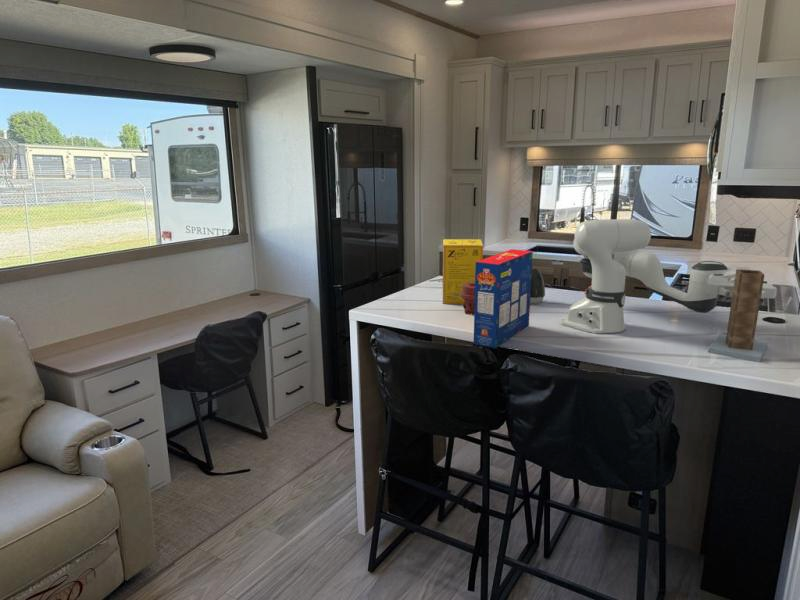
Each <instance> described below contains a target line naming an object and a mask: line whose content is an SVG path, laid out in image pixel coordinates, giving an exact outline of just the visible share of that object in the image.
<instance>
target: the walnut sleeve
mask: <svg viewBox="0 0 800 600" xmlns="http://www.w3.org/2000/svg"><path fill="white" fill-rule="evenodd" d="M764 280H765V274H764V273H763V272H762V271H761V270H755V269H754V270H753V269H741V270H740V268H739V269H736V275H735V282H734V288H733V295H732V298H731V301H730V302H731V303H730V308H729V309H730V310H729V316H728V321H727V322H728V323H727V328H726V329H727V330H726V335H725V336H726V343H727V345H728V347H729V348H737V349H747V350H752V348H753V342H754V341H755V334H756V330H757V329H756V328H757V322H758V318H759V317H758V316H759V313H760V312H759V310H760V304H761V294H762V287H763V283H764Z"/></svg>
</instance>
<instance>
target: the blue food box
mask: <svg viewBox="0 0 800 600" xmlns="http://www.w3.org/2000/svg"><path fill="white" fill-rule="evenodd" d="M533 253H534V252H533V250H526V249H525V250H523V249H515V248H514V249H512V248H511V249H509V250H505V251H503V252H499V253H497V254H494V255H491V256H488V257H486V258H483V259H482V260H480V261H477V262H476V268H475V307H474V314H473V316H474V319H473V320H474V321H473V344H474V345H477V346H483V347H487V348H492V349H496V348H498V347H499V346H502V345H503V344H505V343H506V342H507V341H508V340H511V339H512V338H513V337H515V336H516V335H518V334H520V333H521V332H522V331H523V332H524V330H525V329H527V328H529V326H530V313H531V312H530V310H531V309H530V308H531V306H530V305H531V304H530V293H531V274H532V267H533Z"/></svg>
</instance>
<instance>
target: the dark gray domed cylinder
mask: <svg viewBox="0 0 800 600" xmlns="http://www.w3.org/2000/svg"><path fill="white" fill-rule="evenodd" d="M544 281H545V280H544V278H543V275H542V272H541V271H540V269H539V268H538V267H534V266H532V274H531V293H530V305H538V304H539V303H541V302H542V301H543V300H544V298H545V296H546V288H545V283H544Z"/></svg>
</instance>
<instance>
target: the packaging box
mask: <svg viewBox="0 0 800 600" xmlns="http://www.w3.org/2000/svg"><path fill="white" fill-rule="evenodd" d="M483 252H484V244H483V242H482V239H474V238H473V239H458V238H455V239H450V238H449V239H448V238H447V239H443V243H442V304H443V305H445V304H446V305H449V304H451V305H453V304H454V305H464V299H463V298H461V297H460V292H462V285H463V284H465V283H468V282H475V268H476V262H477V261H480V260H482V259H484V258H483Z"/></svg>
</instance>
